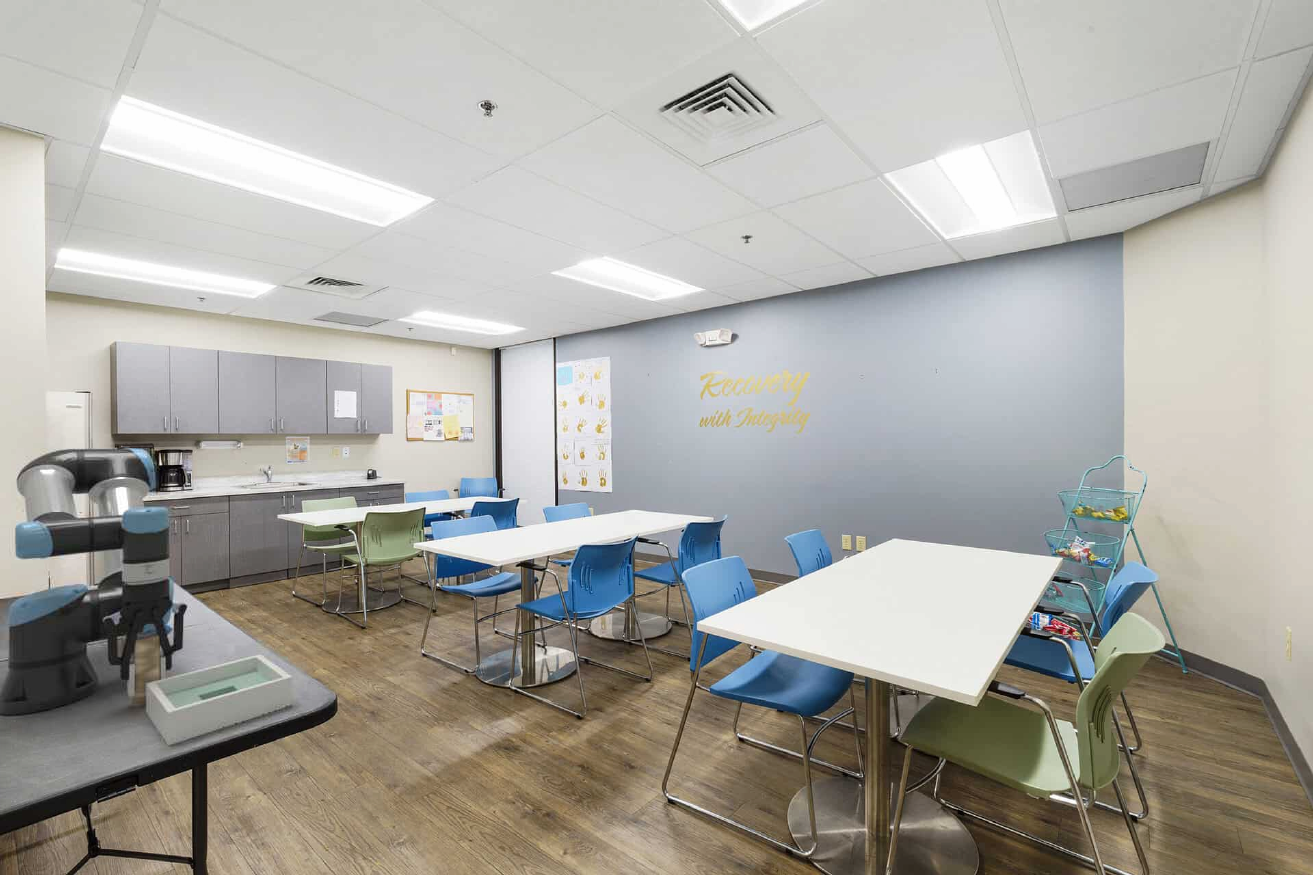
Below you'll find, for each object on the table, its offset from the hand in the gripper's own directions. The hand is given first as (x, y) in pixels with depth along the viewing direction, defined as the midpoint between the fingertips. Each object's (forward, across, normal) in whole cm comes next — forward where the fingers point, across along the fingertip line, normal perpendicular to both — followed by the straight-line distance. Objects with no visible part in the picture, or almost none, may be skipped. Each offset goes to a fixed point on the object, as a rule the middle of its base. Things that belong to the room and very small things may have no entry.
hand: (146, 689), depth 121 cm
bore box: (+3, +9, -16) cm, 19 cm away
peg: (+3, 0, 0) cm, 3 cm away
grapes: (+3, +7, +34) cm, 35 cm away
